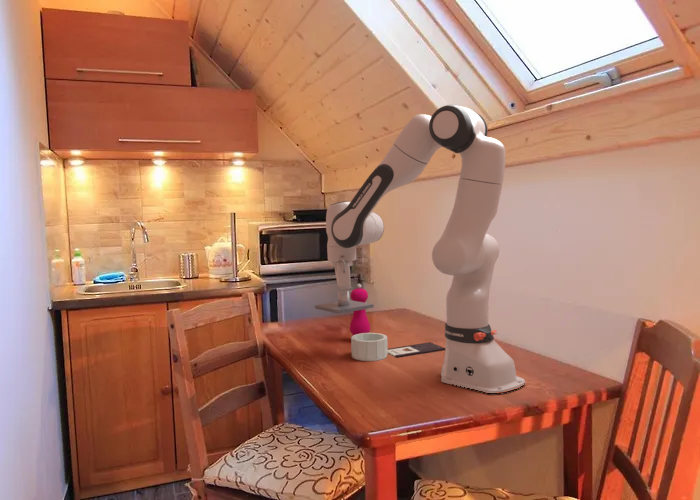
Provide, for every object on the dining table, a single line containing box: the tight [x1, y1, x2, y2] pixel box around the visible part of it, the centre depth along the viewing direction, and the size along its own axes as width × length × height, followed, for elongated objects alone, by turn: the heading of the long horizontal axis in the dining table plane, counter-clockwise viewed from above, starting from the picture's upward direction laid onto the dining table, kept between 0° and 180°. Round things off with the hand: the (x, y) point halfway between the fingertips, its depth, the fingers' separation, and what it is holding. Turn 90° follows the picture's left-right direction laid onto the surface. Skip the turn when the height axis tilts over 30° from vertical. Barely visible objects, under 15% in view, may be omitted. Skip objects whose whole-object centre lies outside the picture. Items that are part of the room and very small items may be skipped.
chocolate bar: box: [387, 341, 446, 359], centre depth 169 cm, size 9×1×18 cm
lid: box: [314, 290, 375, 315], centre depth 162 cm, size 13×13×5 cm
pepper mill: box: [349, 283, 371, 338], centre depth 182 cm, size 7×7×20 cm
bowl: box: [350, 332, 389, 362], centre depth 163 cm, size 11×11×6 cm
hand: (344, 299), depth 162 cm, fingers closed on lid, 4 cm apart
